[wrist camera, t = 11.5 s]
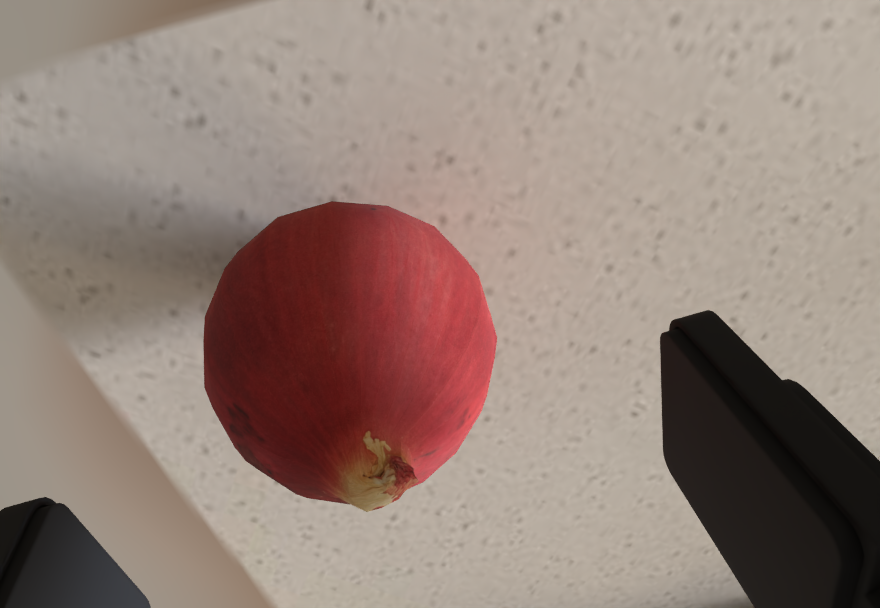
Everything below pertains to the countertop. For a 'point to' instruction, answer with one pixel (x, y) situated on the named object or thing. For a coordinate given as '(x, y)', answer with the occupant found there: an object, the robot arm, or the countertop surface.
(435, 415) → the onion
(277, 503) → the countertop surface
